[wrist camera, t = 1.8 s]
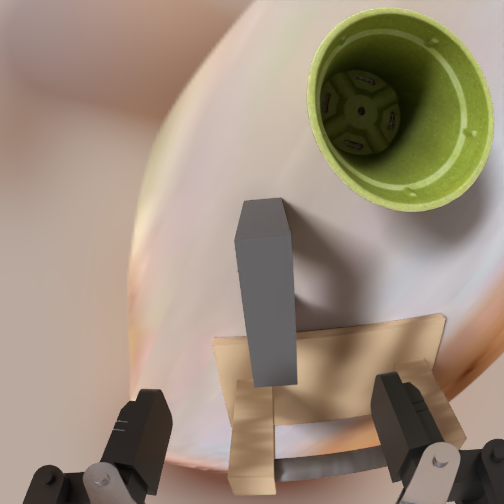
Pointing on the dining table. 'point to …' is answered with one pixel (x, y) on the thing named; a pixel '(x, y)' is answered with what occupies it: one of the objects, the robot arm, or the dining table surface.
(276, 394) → the bar rack
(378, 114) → the plant pot
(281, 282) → the rubber u
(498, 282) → the dining table surface
